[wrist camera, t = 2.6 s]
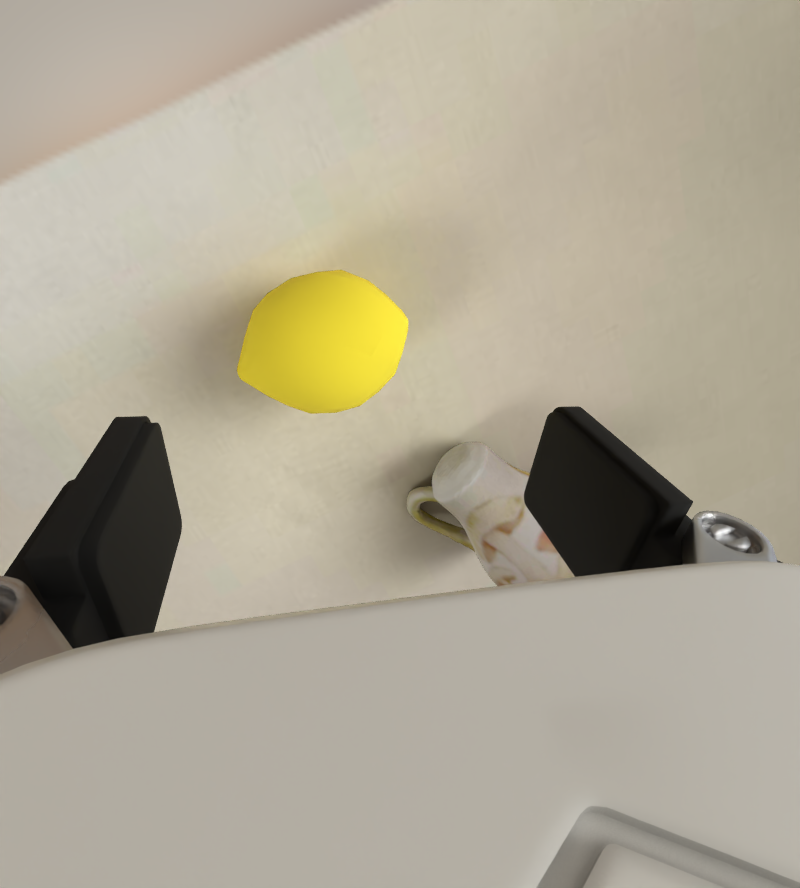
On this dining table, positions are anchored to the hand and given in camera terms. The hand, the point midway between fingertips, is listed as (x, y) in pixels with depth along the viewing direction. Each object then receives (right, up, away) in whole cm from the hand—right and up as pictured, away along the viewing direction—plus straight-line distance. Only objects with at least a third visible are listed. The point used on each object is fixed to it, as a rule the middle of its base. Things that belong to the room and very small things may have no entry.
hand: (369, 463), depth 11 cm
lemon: (-3, +6, +9) cm, 11 cm away
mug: (+6, -2, +17) cm, 18 cm away
